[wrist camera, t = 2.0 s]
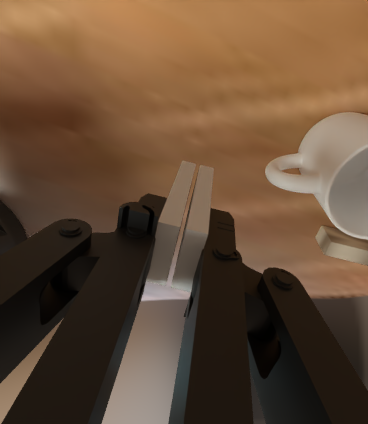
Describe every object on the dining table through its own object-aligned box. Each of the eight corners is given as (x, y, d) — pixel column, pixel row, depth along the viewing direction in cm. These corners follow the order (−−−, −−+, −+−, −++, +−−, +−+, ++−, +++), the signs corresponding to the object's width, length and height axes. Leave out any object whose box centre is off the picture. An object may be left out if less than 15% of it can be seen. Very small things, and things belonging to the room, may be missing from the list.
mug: (257, 190, 33) (270, 240, 24) (260, 115, 29) (277, 141, 20) (371, 187, 31) (431, 240, 22) (390, 107, 27) (472, 132, 18)
